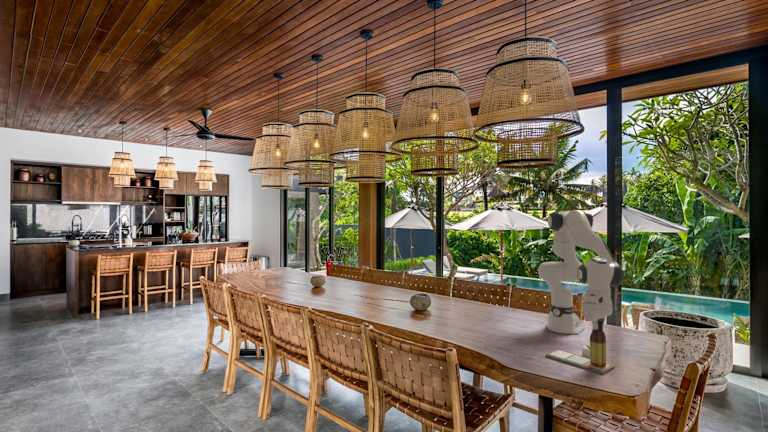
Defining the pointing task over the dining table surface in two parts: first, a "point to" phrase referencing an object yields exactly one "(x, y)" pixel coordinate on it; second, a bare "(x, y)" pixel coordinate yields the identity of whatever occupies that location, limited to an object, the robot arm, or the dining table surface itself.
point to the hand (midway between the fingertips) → (598, 328)
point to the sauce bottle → (598, 346)
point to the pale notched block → (586, 351)
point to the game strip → (578, 361)
